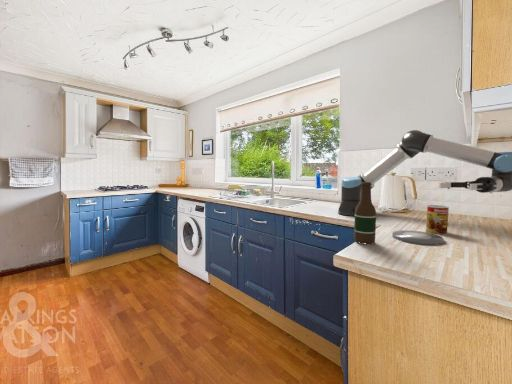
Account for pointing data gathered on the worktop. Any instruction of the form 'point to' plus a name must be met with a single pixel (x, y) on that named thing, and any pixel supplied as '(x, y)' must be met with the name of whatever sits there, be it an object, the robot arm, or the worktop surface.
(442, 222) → the canned food
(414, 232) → the plate
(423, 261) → the worktop surface
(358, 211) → the beer bottle
